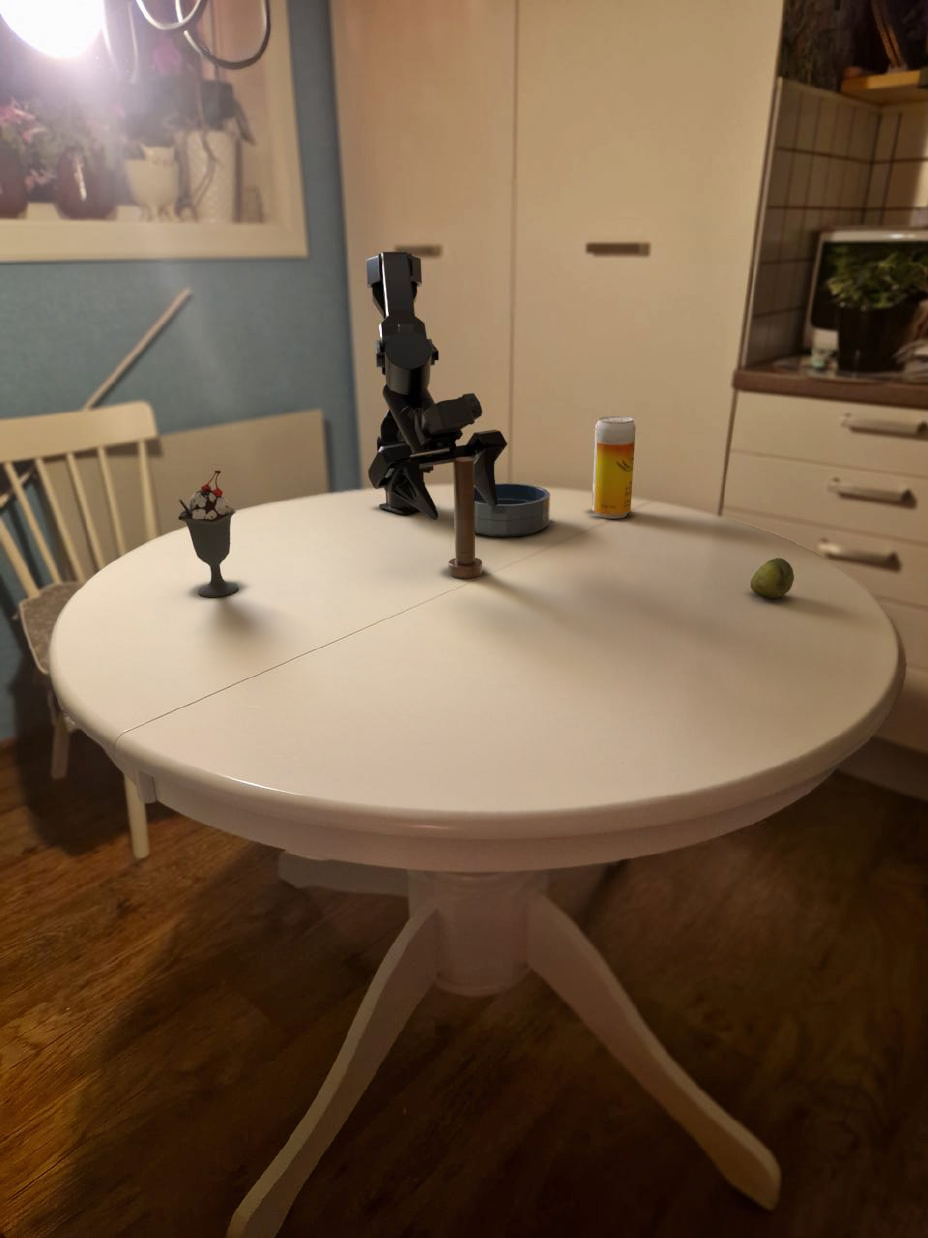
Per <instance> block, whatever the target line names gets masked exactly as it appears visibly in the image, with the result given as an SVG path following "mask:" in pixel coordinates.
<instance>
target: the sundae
mask: <svg viewBox="0 0 928 1238" xmlns="http://www.w3.org/2000/svg"><path fill="white" fill-rule="evenodd" d="M221 473H222V471H221V470H215V471H214V474H213V475H212V477H211V479H210V480H209V481H208V482H207V483H206V484H203V485H201V487H200V489H199V490H197V491H194V493H193V494H192V496H191V497H190V498H189V504H188V505H189V507H188V506H187V504H185V502H184V501H183V500H182V499H181V498H180V499H178V501H179V503H180V504H181V506H182V507H183V509H184V510H182V511H181V512H180V513H179V516H178V518H177V519H178V520H179V521H182V522H184V523H186V527H187V530H188V532H189V535H190V538H191V542H192V546H193V549H194V552H195V554H196V557H197V558H198V559H199V560H200V561H202V562H203V563H205V564H206V565H208V566H209V569H210V581H209V583H207V584H204V585H202V586H201V587H200V588H198V590H197V593H198V594H199V595H200V596H202V597H206V598H219V597H224V596H229V595H232V594H233V593H235V592H237V591H238V589H239V585H238V584H237V583H234V582H229V581H225V579H224V578H223V576H222V575H223V574H222V572H221V571H222V570H221V564H222V563H223V562H224V561H225V560H226V559H227V557H228V555H230V549H231V523H232V517H233V515H235V514H236V513H237V511H236V509H234V508H233V507H232V506H231V505H230V503H229V501H228V500H227V499H226V498H225V497H223V490H222V489H220V488H219V487H218V486H219V485H218V483H217V482H218V481H217V480H218V479H217V478H218V477H219V475H220V474H221ZM215 475H216V476H215ZM214 478H215V481H214V483H215V488H214V489H213V490H212V487H211V485H210V484H211V482H212V481H213V479H214Z"/></svg>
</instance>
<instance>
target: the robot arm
mask: <svg viewBox="0 0 928 1238" xmlns="http://www.w3.org/2000/svg"><path fill="white" fill-rule="evenodd" d="M365 271H366V284H367V285H366V286H367V289H371V296H372V297H371V298H372V303H373V305H374V306H375V307H376V309H377V310H378V312H379V314H380V315H381V317H382V321H381V322H380V323H379V326H378V327H379V339H376V340H374V346H375V347H374V348H375V363H376V366H375V367H376V368H381V375H383V376H385V383H384V385H383V388H382V397H383V398H384V400H385V402H386V405H387V407H388V409H387V411H386V413H385V415H384V417H383V419H382V421H381V423H380V429H379V432H380V436H376V454H375V457H374V459H373V460H372V462H371V464H370V465H369V468H368V470H367V474H368V479H369V481H370V483H371V485H372V487H373V488H374V489H375V490H379V489H383V491H384V492H385V502H383V503H379V505H378V508H379V509H382V510H385V511H388V512H392V513H395V514H400V515H408V514H411V513H415V512H421V513H422V514H424V515H425V516H426V517H428V518H429V519H430V520H432V521H434V522H435V521H437V520H438V519H439V517H440V515H439V512H438V510H437V507H436V504H435V502H434V501H433V498H432V496H431V494H430V493H429V490H428V487H427V486H426V482H425V476H424V474H425V473H426V474H431V472H432V471H434V467H435V466H440V465H441V466H442V465H446V464H453V459H454V458H458V457H470V458H473V459H474V487H476V489H477V490H478V491H479V493H480V494H481V495H482V497H483V498H484V500H485V501H486V502H487V503H488V504H489V505H490V507H491V508H495V507H496V506H497V504H498V501H497V492H496V476H495V464H496V461H497V459H498V458H499V457H500V456H501V454H502V453H503V451H504V450H505V449H506V448H507V446H508V442H507V441H506V438H505V436H504V435H503V433H502V431H501V430H499V429H498V430H497V429H489V430H483V431H476V432H473V434H472V435H471V437H470V438H469V440H468V441H467V443H466V444H461V445H457V443H456V441H457V440H460V439H461V438H462V437H463V436H464V433H463V431H462V430H463V429H464V428H466V427H467V426H469V425H471V426H472V425H473V424H475V423H476V422H475V420H477V419H479V418H480V417H482V415H483V407H482V405H481V402H480V400H479V399H478V397H477V396H476V394H475V393H474V392H470V393H463V394H462V395H461V396H459V397H457V398H453V399H452V398H451V399H445V400H440V401H438V402H435V400H434V398H433V396H432V395H431V392H430V391H429V388H428V387H429V385H430V382H431V367H433V366H435V365H436V361H440V356H439V355H440V354H439V353H440V352H439V350H438V348H437V347H436V346H435V344H434V343H433V340H432V338H428V334H427V330H426V329H427V328H426V323H425V322H423V320H421V319H420V318H418V317H417V316H416V311H415V304H416V301H417V296H418V288H421V286H422V284H423V279H422V277H423V275H422V259H421V258H420V257H417V256H414V255H413V254H412V252H408V251H407V250H406V251H405V250H404V251H401V250H400V251H397V250H396V251H382V252H381V253H377V255H373V257H370V258H367V259H365Z"/></svg>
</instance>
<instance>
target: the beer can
mask: <svg viewBox="0 0 928 1238" xmlns="http://www.w3.org/2000/svg"><path fill="white" fill-rule="evenodd" d="M597 420H598V421H597V422H596V424H595V426H594V447H593V448H594V450H593V451H594V452H593V453H594V454H593V473H592V475H593V476H592V477H593V478H592V494H591V495H592V497H591V499H592V500H591V510H592V512H593V513H594V515H595V516H596V517H599V518H603V519H623V518H625V517H627V516H628V514H629V512H631V511H632V509H631V508H632V494H633V478H634V477H633V476H634V461H635V443H636V428H637V427H636V424H635V422H634V418H633V417H629V416H624V415H623V416H622V415H607V416H600V417H599V418H598V419H597Z"/></svg>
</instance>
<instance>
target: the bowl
mask: <svg viewBox="0 0 928 1238" xmlns="http://www.w3.org/2000/svg"><path fill="white" fill-rule="evenodd" d="M495 484H496V492H497V501H498V504H497V506H496V507H495V508H491V507H490V505H489V504H488V503H487V502H486V501H485V500H484V498H483V497H482V495H481V494H480V493H479V491H478V490H477V489H476V487H475V486H474V494H475V534H478V535H482V536H486V537H487V536H489V537H498V538H510V537H522V536H527V535H532V534H535V533H537V532H539V531H542V530H543V529H545V528H547V526H549V524H550V513H551V512H550V511H551V509H550V507H551V493H550V492H549V490H547V489H545V488H543V487H541V486H537V485H532V484H526V483H516V482H514V483H513V482H500V483H499V482H498V483H496V482H495Z"/></svg>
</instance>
